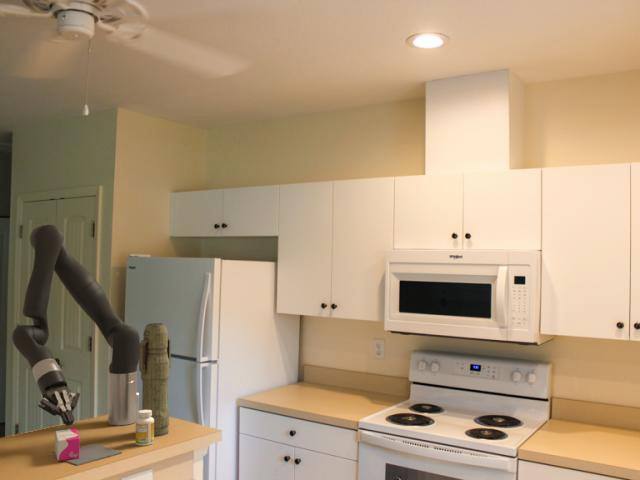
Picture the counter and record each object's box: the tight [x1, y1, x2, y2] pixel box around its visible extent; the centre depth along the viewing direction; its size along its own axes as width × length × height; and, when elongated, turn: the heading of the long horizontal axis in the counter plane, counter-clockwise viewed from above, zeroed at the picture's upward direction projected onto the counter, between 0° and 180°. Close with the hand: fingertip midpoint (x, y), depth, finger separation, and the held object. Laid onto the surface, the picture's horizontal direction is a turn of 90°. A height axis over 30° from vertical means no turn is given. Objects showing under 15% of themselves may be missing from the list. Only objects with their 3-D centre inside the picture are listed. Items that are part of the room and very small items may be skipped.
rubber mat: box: [49, 443, 123, 466], centre depth 177 cm, size 14×14×1 cm
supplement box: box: [54, 428, 81, 461], centre depth 177 cm, size 6×6×12 cm
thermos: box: [138, 322, 172, 438], centre depth 200 cm, size 9×12×35 cm
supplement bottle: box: [135, 409, 155, 447], centre depth 189 cm, size 5×5×10 cm
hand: (70, 423), depth 183 cm, fingers closed
